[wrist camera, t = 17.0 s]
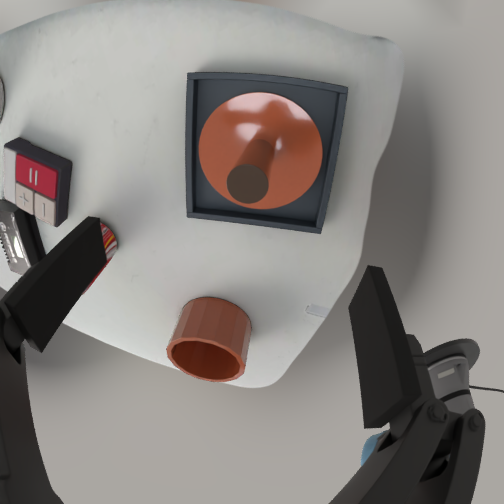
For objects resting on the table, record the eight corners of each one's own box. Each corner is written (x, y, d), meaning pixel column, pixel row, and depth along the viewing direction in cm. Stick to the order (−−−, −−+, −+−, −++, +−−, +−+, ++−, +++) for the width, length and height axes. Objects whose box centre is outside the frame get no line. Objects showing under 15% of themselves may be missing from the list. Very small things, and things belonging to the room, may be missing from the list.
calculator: (55, 231, 36) (1, 200, 33) (69, 217, 39) (15, 189, 36) (58, 170, 30) (0, 145, 27) (75, 160, 33) (17, 136, 30)
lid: (343, 167, 29) (368, 208, 20) (249, 224, 35) (234, 281, 26) (272, 68, 24) (265, 57, 15) (178, 141, 30) (132, 170, 21)
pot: (265, 331, 47) (261, 372, 40) (214, 350, 53) (205, 386, 46) (218, 286, 42) (205, 327, 35) (167, 312, 48) (152, 349, 41)
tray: (319, 226, 35) (320, 234, 33) (191, 210, 35) (186, 217, 34) (344, 87, 25) (348, 87, 23) (193, 73, 25) (187, 72, 24)
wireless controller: (-3, 199, 38) (-56, 243, 24) (31, 203, 38) (-31, 256, 24) (21, 272, 49) (-18, 319, 35) (57, 285, 49) (15, 341, 35)
